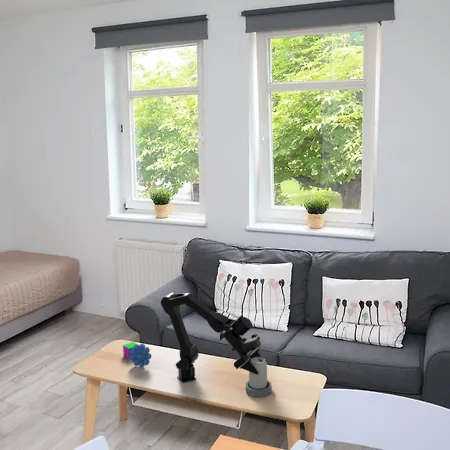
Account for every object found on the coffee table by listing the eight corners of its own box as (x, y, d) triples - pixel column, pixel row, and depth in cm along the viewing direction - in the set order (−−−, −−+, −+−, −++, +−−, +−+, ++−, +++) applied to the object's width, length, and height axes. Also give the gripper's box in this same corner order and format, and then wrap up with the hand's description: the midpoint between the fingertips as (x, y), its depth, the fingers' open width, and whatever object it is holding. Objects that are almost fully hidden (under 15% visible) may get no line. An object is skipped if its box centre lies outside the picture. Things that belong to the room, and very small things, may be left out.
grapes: (157, 365, 265) (155, 341, 262) (149, 371, 259) (147, 347, 256) (136, 361, 270) (134, 338, 267) (128, 367, 264) (126, 343, 261)
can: (270, 387, 237) (270, 360, 235) (255, 392, 233) (255, 365, 231) (259, 380, 243) (259, 354, 241) (245, 385, 239) (245, 358, 237)
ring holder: (255, 400, 231) (254, 393, 231) (241, 389, 240) (240, 382, 240) (276, 392, 237) (276, 386, 236) (262, 382, 246) (262, 376, 245)
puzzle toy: (139, 356, 276) (139, 345, 275) (129, 359, 272) (128, 348, 271) (133, 352, 280) (132, 341, 279) (123, 356, 277) (122, 345, 275)
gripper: (240, 339, 226) (266, 369, 224) (256, 322, 243) (280, 350, 241) (222, 354, 231) (248, 383, 229) (239, 337, 248) (263, 364, 246)
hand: (260, 369), depth 236 cm, fingers closed on can, 7 cm apart
